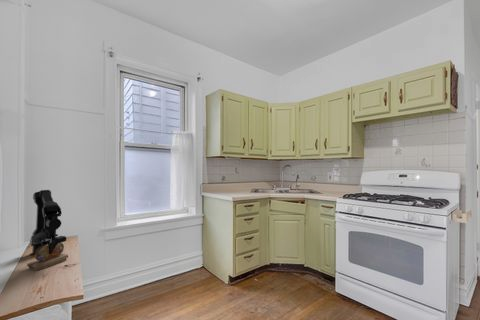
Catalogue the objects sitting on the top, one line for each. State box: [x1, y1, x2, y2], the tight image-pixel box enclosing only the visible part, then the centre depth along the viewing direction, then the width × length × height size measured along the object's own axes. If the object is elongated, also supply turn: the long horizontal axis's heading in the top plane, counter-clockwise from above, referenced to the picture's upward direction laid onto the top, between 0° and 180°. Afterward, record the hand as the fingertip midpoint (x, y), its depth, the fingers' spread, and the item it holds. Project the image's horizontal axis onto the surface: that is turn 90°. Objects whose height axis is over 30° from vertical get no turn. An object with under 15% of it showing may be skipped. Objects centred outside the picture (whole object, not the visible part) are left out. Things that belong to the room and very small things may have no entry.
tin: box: [34, 242, 65, 261], centre depth 139 cm, size 15×3×8 cm, turn 165°
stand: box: [26, 253, 69, 271], centre depth 139 cm, size 8×17×3 cm, turn 165°
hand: (48, 253), depth 139 cm, fingers closed on tin, 2 cm apart
